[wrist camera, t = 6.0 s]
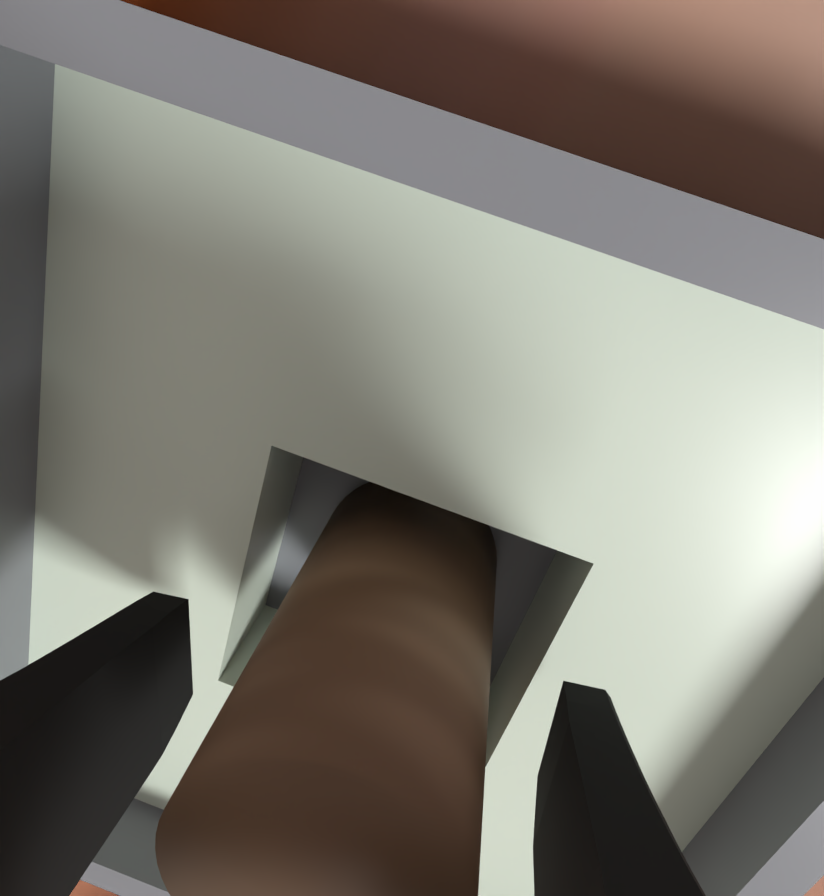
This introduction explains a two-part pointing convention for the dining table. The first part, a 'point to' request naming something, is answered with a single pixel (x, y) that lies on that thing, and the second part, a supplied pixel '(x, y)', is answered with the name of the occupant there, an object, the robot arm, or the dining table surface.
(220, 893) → the peg
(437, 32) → the dining table surface
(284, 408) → the bore box
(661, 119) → the dining table surface
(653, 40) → the dining table surface
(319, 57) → the dining table surface
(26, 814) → the robot arm
